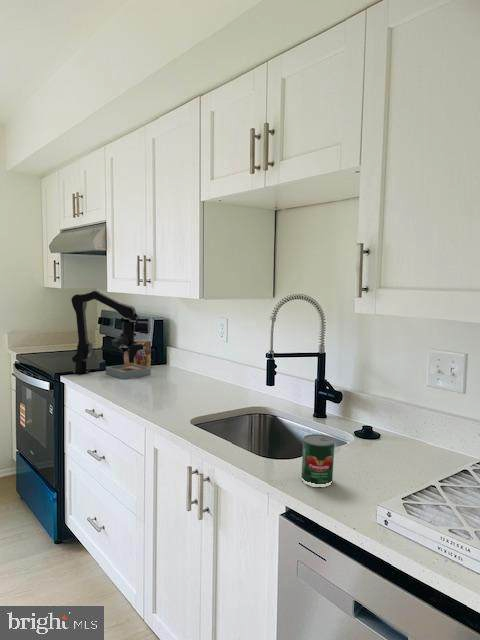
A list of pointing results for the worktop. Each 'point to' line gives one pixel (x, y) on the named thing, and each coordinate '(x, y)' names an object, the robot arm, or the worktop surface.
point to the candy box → (143, 354)
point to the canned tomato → (318, 458)
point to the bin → (128, 371)
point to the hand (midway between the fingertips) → (128, 362)
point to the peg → (126, 359)
